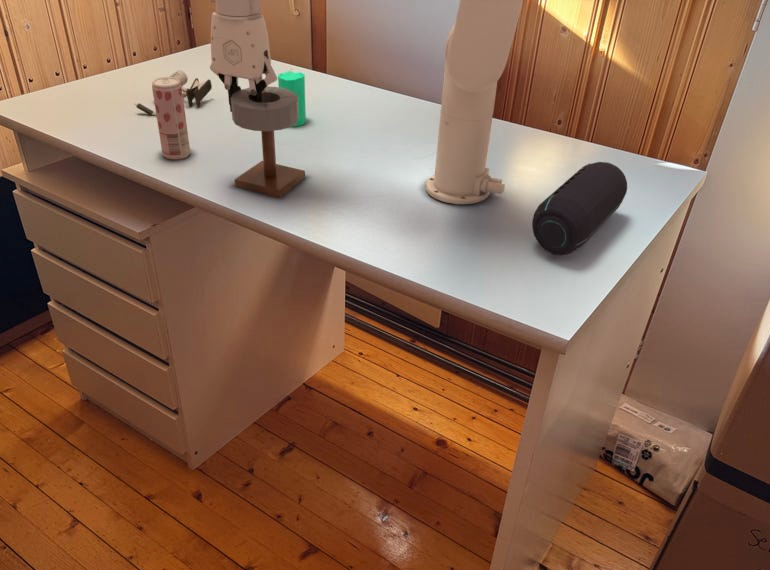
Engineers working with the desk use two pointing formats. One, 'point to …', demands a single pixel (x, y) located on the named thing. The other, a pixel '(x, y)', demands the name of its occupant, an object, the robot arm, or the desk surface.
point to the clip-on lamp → (186, 90)
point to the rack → (269, 172)
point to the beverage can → (171, 117)
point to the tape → (265, 109)
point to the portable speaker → (579, 208)
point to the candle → (297, 85)
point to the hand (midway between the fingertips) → (246, 111)
